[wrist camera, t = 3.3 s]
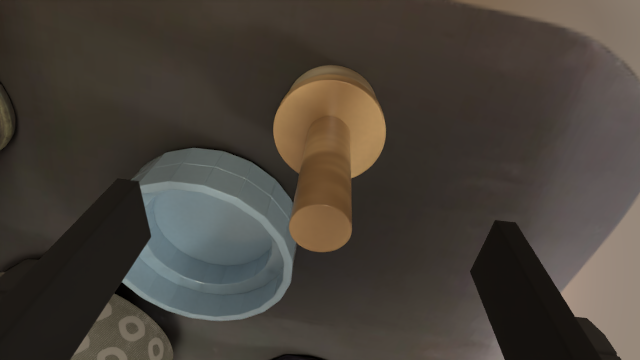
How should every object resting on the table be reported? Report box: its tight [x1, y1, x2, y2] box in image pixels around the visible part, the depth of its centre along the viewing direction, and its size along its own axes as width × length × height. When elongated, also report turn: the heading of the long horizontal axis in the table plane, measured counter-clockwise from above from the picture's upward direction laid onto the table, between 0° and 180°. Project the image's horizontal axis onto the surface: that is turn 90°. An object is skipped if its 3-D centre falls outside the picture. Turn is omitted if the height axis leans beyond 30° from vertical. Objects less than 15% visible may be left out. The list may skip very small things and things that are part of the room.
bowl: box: [122, 148, 297, 321], centre depth 26 cm, size 13×13×5 cm
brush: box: [273, 65, 386, 252], centre depth 18 cm, size 6×6×12 cm
